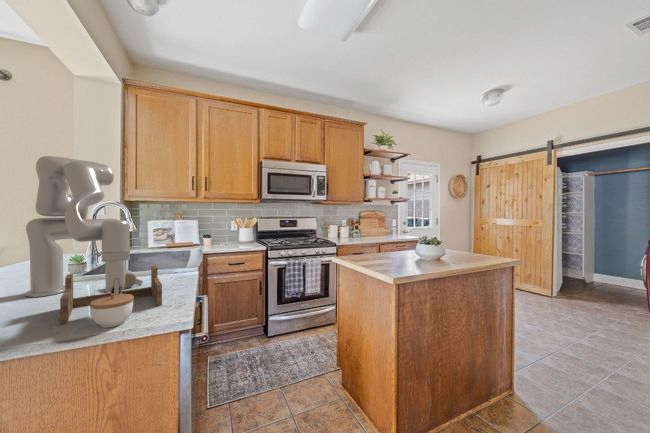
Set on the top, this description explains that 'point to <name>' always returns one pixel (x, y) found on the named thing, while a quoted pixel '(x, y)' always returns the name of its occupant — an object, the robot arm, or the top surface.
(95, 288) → the top surface
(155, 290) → the wooden rack
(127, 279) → the white mug
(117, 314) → the lidded jar
